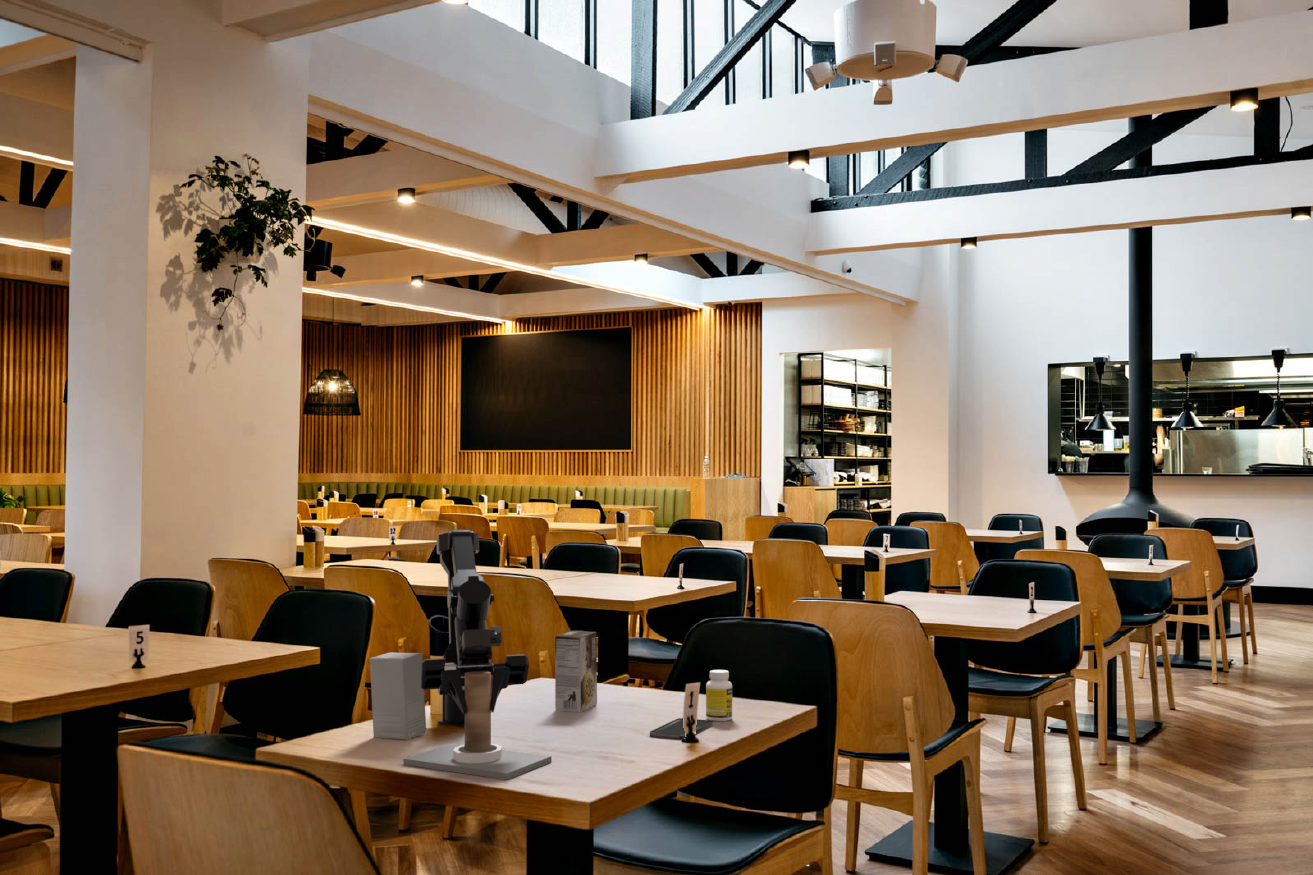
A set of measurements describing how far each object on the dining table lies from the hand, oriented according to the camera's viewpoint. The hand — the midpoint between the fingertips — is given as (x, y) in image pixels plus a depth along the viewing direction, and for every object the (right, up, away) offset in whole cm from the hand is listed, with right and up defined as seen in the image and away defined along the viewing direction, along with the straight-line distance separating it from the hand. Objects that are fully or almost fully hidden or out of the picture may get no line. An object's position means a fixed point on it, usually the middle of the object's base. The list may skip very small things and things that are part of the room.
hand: (478, 711), depth 187 cm
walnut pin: (0, -7, +1) cm, 7 cm away
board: (0, -9, +1) cm, 9 cm away
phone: (+36, -11, +26) cm, 45 cm away
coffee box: (+13, -12, +49) cm, 52 cm away
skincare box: (-19, -11, +22) cm, 31 cm away
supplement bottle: (+44, -11, +36) cm, 58 cm away
